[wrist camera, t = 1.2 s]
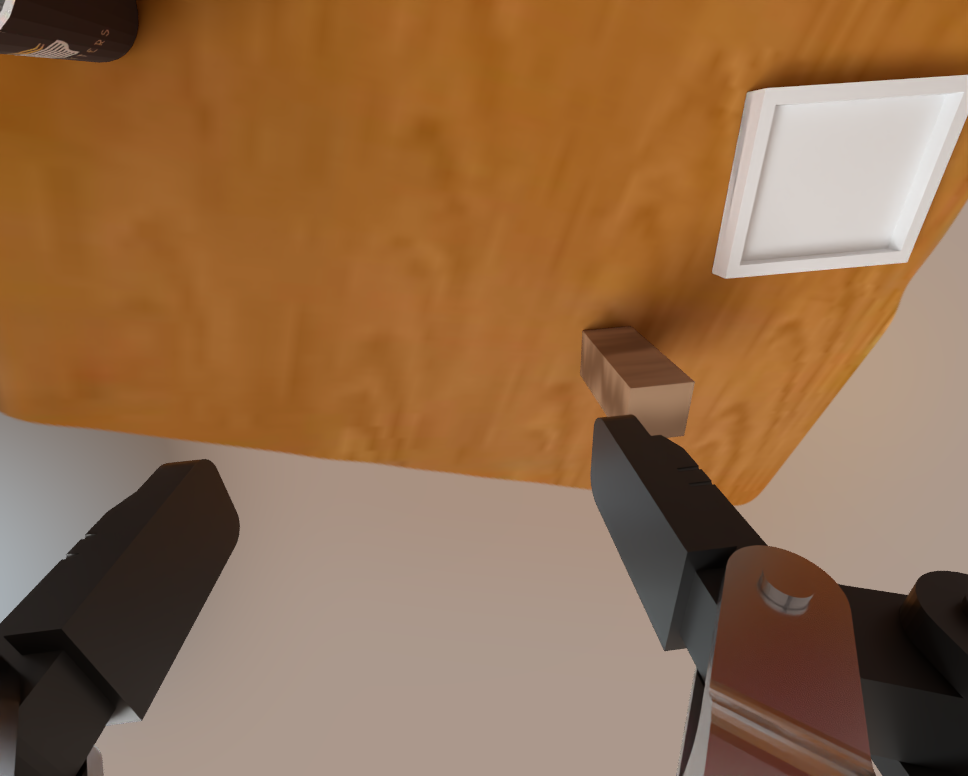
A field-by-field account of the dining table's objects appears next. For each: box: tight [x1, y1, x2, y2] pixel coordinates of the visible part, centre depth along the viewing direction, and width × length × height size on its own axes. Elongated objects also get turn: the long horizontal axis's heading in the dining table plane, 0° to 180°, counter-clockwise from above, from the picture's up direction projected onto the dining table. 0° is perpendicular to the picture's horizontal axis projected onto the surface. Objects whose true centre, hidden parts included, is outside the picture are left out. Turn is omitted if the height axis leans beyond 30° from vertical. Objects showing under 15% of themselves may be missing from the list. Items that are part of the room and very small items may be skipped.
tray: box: [712, 75, 968, 279], centre depth 33 cm, size 13×16×2 cm
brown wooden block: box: [580, 326, 695, 438], centre depth 35 cm, size 4×4×11 cm
